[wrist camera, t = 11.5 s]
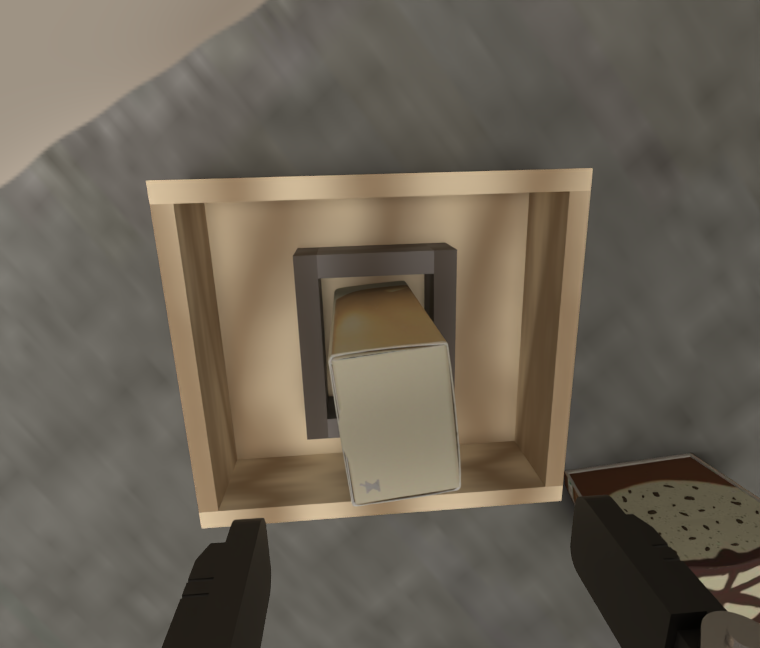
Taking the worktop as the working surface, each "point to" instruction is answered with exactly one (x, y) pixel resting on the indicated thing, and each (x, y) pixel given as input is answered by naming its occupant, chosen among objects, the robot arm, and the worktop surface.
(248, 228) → the walled box
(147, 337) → the worktop surface
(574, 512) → the robot arm
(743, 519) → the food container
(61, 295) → the worktop surface
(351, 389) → the skincare box
